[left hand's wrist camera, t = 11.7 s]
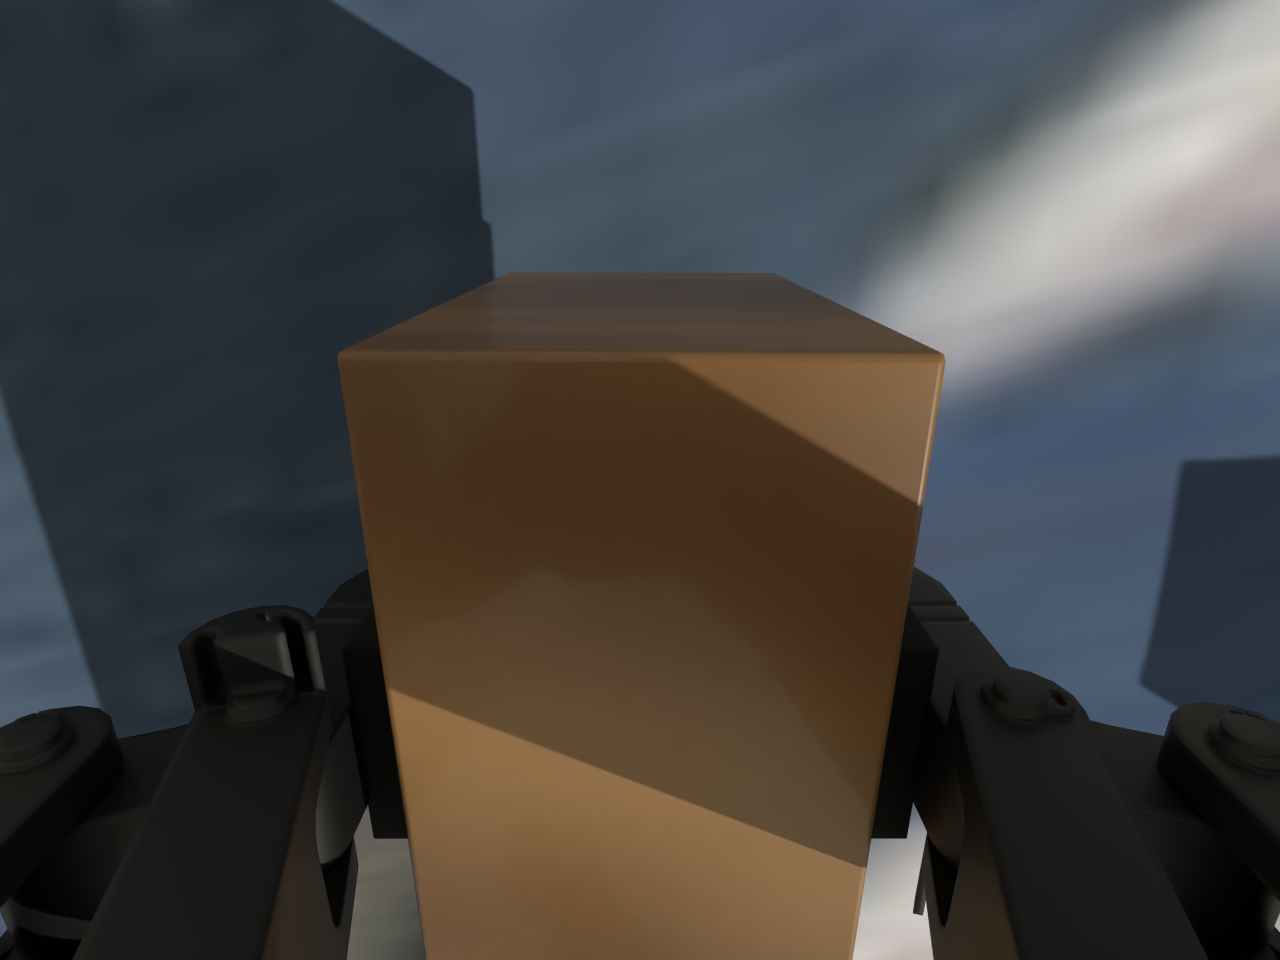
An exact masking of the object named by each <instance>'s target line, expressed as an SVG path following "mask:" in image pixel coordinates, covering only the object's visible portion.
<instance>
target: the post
mask: <svg viewBox="0 0 1280 960" xmlns="http://www.w3.org/2000/svg"><path fill="white" fill-rule="evenodd" d="M337 361H338V368H339V375H340V382H341V388H342V395H343V402H344V409H345V415H346V422H347V429H348V436H349V442H350V449H351V456H352V463H353V470H354V476H355V483H356V490H357V497H358V503H359V510H360V517H361V524H362V530H363V537H364V544H365V551H366V558H367V564H368V571H369V578H370V585H371V591H372V598H373V605H374V612H375V618H376V625H377V632H378V639H379V646H380V652H381V659H382V666H383V673H384V679H385V686H386V693H387V700H388V706H389V713H390V720H391V727H392V734H393V740H394V747H395V754H396V761H397V767H398V774H399V781H400V788H401V794H402V801H403V808H404V815H405V822H406V828H407V835H408V842H409V849H410V855H411V862H412V869H413V876H414V882H415V889H416V896H417V903H418V910H419V916H420V923H421V930H422V937H423V943H424V950H425V957H426V960H852V958H853V951H854V945H855V938H856V932H857V926H858V919H859V913H860V906H861V900H862V894H863V887H864V881H865V874H866V868H867V862H868V855H869V849H870V842H871V836H872V830H873V823H874V817H875V810H876V804H877V798H878V791H879V785H880V778H881V772H882V765H883V759H884V753H885V746H886V740H887V733H888V727H889V721H890V714H891V708H892V701H893V695H894V689H895V682H896V676H897V669H898V663H899V657H900V650H901V644H902V637H903V631H904V624H905V618H906V612H907V605H908V599H909V592H910V586H911V580H912V573H913V567H914V560H915V554H916V548H917V541H918V535H919V528H920V522H921V516H922V509H923V503H924V496H925V490H926V483H927V477H928V471H929V464H930V458H931V451H932V445H933V439H934V432H935V426H936V419H937V413H938V407H939V400H940V394H941V387H942V381H943V375H944V368H945V358H944V355H943V353H941V352H939V351H936V350H934V349H932V348H930V347H928V346H926V345H924V344H922V343H920V342H917V341H915V340H913V339H911V338H909V337H907V336H905V335H903V334H901V333H898V332H896V331H894V330H892V329H890V328H888V327H886V326H884V325H882V324H879V323H877V322H875V321H873V320H871V319H869V318H867V317H865V316H862V315H860V314H858V313H856V312H854V311H852V310H850V309H848V308H846V307H843V306H841V305H839V304H837V303H835V302H833V301H831V300H829V299H827V298H824V297H822V296H820V295H818V294H816V293H814V292H812V291H810V290H807V289H805V288H803V287H801V286H799V285H797V284H795V283H793V282H791V281H788V280H786V279H784V278H782V277H780V276H778V275H776V274H773V273H534V272H510V273H508V274H506V275H503V276H501V277H499V278H497V279H495V280H493V281H490V282H488V283H486V284H484V285H482V286H480V287H478V288H475V289H473V290H471V291H469V292H467V293H465V294H462V295H460V296H458V297H456V298H454V299H452V300H449V301H447V302H445V303H443V304H441V305H439V306H436V307H434V308H432V309H430V310H428V311H426V312H423V313H421V314H419V315H417V316H415V317H413V318H411V319H408V320H406V321H404V322H402V323H400V324H398V325H395V326H393V327H391V328H389V329H387V330H385V331H382V332H380V333H378V334H376V335H374V336H372V337H369V338H367V339H365V340H363V341H361V342H359V343H356V344H354V345H352V346H350V347H348V348H346V349H344V350H341V351H340V352H339V355H338V359H337Z"/></svg>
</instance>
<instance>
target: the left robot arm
mask: <svg viewBox="0 0 1280 960" xmlns="http://www.w3.org/2000/svg"><path fill="white" fill-rule="evenodd" d="M956 603H957V602H956V601H955V599H954V598H953V597H952V596H951V594H950V593H949V592H948V591H947V590H946V588H945V587H944V586H943V585H942V583H940V582H938V581H937V580H935V579H933V578H932V577H930V576H929V575H927V574H925V573H924V572H922V571H920V570H919V569H917V568H915V567H913V573H912V580H911V586H910V592H909V599H908V605H907V612H906V618H905V624H904V631H903V637H902V644H901V650H900V657H899V663H898V669H897V676H896V682H895V689H894V695H893V701H892V708H891V714H890V721H889V727H888V733H887V740H886V746H885V753H884V759H883V765H882V772H881V778H880V785H879V791H878V798H877V804H876V810H875V817H874V823H873V830H872V836H871V838H907V833H908V827H909V822H910V816H911V810H912V804H913V802H914V804H915V807H916V809H917V811H918V813H919V815H920V817H921V820H922V822H923V824H924V826H925V828H926V830H927V836H926V841H925V846H924V852H923V857H922V863H921V868H920V873H919V879H918V884H917V890H916V895H915V902H914V909H913V913H914V914H918V915H923V912H924V907H925V901H926V903H927V911H928V919H929V927H930V935H931V942H932V950H933V958H934V960H1280V932H1279V931H1278V930H1277V929H1276V928H1275V923H1276V921H1277V919H1278V917H1279V914H1280V724H1279V723H1277V722H1275V721H1273V720H1270V719H1268V718H1267V717H1266V716H1264V715H1262V714H1259V713H1256V712H1253V711H1250V710H1247V711H1246V710H1244V709H1243V708H1239V707H1234V706H1229V705H1219V704H1211V703H1195V704H1188V705H1182V706H1181V707H1179V708H1178V709H1177V710H1175V711H1174V712H1173V713H1172V714H1171V716H1170V720H1169V723H1168V726H1167V729H1166V732H1165V735H1164V736H1161V735H1156V734H1151V733H1146V732H1141V731H1136V730H1131V729H1126V728H1121V727H1116V726H1111V725H1106V724H1102V723H1098V722H1095V721H1091V720H1090V719H1089V717H1088V715H1087V713H1086V711H1085V710H1084V708H1083V707H1082V706H1081V705H1080V704H1079V702H1078V701H1077V700H1076V699H1075V697H1074V696H1073V695H1072V694H1070V693H1069V692H1067V691H1066V690H1065V689H1063V688H1062V687H1060V686H1059V685H1057V684H1056V683H1054V682H1053V681H1050V680H1048V679H1046V678H1043V677H1041V676H1039V675H1036V674H1034V673H1032V672H1029V671H1025V670H1021V669H1016V668H1012V667H1009V666H1008V665H1007V663H1006V662H1005V661H1004V660H1003V658H1002V657H1001V656H1000V655H999V653H998V652H997V651H996V650H995V649H994V647H993V646H992V645H991V644H990V642H989V641H988V640H987V639H986V637H985V636H984V635H983V634H982V633H981V631H980V630H979V629H978V628H977V626H976V625H975V624H974V623H973V622H972V621H969V617H968V615H967V614H966V613H965V612H964V610H963V609H962V608H961V607H960V606H957V604H956ZM178 648H179V652H180V655H181V659H182V663H183V667H184V670H185V674H186V678H187V682H188V685H189V689H190V693H191V697H192V701H193V704H194V708H195V713H194V715H193V717H192V719H191V721H190V723H189V724H187V725H183V726H179V727H176V728H171V729H166V730H161V731H156V732H151V733H146V734H141V735H136V736H131V737H126V738H121V739H117V736H116V733H115V730H114V727H113V723H112V720H111V717H110V716H109V715H107V714H106V713H105V712H103V711H102V710H101V709H100V708H92V707H85V706H73V707H65V708H56V709H49V710H45V711H40V712H39V713H37V714H35V713H33V714H30V715H27V716H24V717H21V718H19V719H17V720H15V721H14V722H12V723H10V724H8V725H6V726H3V727H1V728H0V912H1V915H2V917H3V919H4V921H5V924H6V926H7V928H8V929H7V930H6V931H5V933H4V934H3V935H2V936H1V937H0V960H347V952H348V944H349V936H350V929H351V921H352V913H353V905H354V897H355V889H356V881H357V874H358V860H357V852H356V847H355V841H354V836H353V835H354V833H355V831H356V829H357V827H358V825H359V822H360V820H361V818H362V816H363V814H364V812H365V809H366V807H367V805H368V807H369V812H370V818H371V824H372V830H373V836H374V839H408V835H407V828H406V822H405V815H404V808H403V801H402V794H401V788H400V781H399V774H398V767H397V761H396V754H395V747H394V740H393V734H392V727H391V720H390V713H389V706H388V700H387V693H386V686H385V679H384V673H383V666H382V659H381V652H380V646H379V639H378V632H377V625H376V618H375V612H374V605H373V598H372V591H371V585H370V578H369V571H368V570H364V571H363V572H361V573H360V574H358V575H356V576H355V577H353V578H351V579H350V580H348V581H347V582H345V583H343V584H342V585H340V586H339V587H338V588H337V590H336V591H335V592H334V593H333V595H332V596H331V597H330V598H329V600H328V601H327V602H326V603H325V607H324V608H321V609H320V611H319V612H318V613H317V614H316V616H315V617H314V618H313V617H312V616H311V615H310V614H308V613H307V612H306V611H304V610H303V609H299V608H295V607H290V606H285V605H281V606H260V607H255V608H250V609H245V610H240V611H236V612H233V613H230V614H227V615H225V616H222V617H219V618H217V619H214V620H211V621H210V622H208V623H206V624H205V625H203V626H201V627H199V628H198V629H196V630H194V631H193V632H191V633H190V634H189V635H188V636H187V637H186V638H185V639H184V640H183V641H182V642H181V643H180V644H179V645H178Z"/></svg>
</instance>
